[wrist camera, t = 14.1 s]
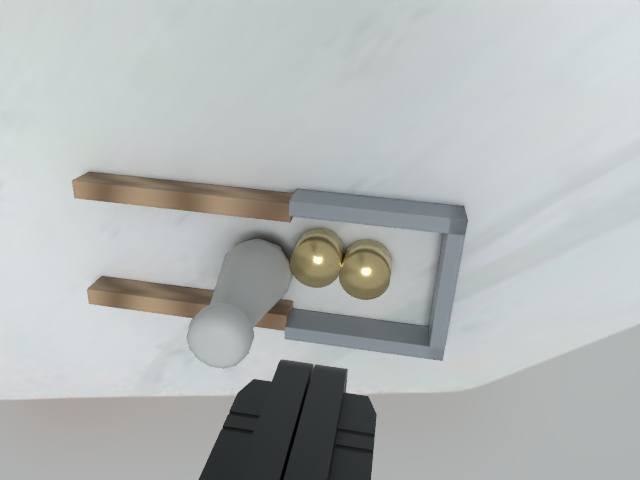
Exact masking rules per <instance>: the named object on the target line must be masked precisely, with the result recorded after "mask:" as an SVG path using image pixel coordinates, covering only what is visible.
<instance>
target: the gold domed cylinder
mask: <svg viewBox="0 0 640 480" xmlns="http://www.w3.org/2000/svg"><path fill="white" fill-rule="evenodd" d="M390 274H391V256H390V253H389V251H388V250H387V249H386V247H385V246H384V245H382V244H381V243H379V242H377V241H374V240H369V239H364V240H359V241H356V242H354V243H353V244H351V245H350V246H349V247H348V248H347V250H346V252H345V254H344V258H343V261H342V265H341V269H340V272H339V279H340V283H341V285H342V287H343V289H344V290H345V291H346V292H347V293H348V294H349V295H351V296H353V297H355V298H358V299H362V300H369V299H374V298H377V297H379V296H380V295H382V294H383V293H384V292H385V291H386V289H387V288H388V286H389V283H390Z"/></svg>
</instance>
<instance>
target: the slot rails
mask: <svg viewBox="0 0 640 480" xmlns="http://www.w3.org/2000/svg"><path fill="white" fill-rule="evenodd" d="M72 184H73V191H74V198H78V199H87V200H96V201H105V202H114V203H123V204H132V205H140V206H149V207H158V208H167V209H176V210H185V211H194V212H203V213H212V214H221V215H230V216H239V217H248V218H256V219H265V220H274V221H283V222H291V220H292V218H293V216H289V201H290V200H291V198H292V196H293V195H294V193H284V192H275V191H265V190H256V189H246V188H237V187H227V186H218V185H208V184H199V183H189V182H180V181H171V180H161V179H152V178H142V177H133V176H123V175H114V174H104V173H95V172H88V173H86V174H84V175H82V176H80V177H78V178H76V179H74V180H72ZM87 293H88V300H89V304H94V305H101V306H109V307H116V308H123V309H131V310H138V311H145V312H152V313H160V314H167V315H174V316H182V317H189V318H194V317H195V315H196V314H198V313H199V312H200V311H201V310H202V309H203V308H204V307H206V306H208V305H210V303H211V300H212V296H213V293H214V291H212V290H204V289H196V288H189V287H181V286H173V285H166V284H158V283H150V282H142V281H135V280H127V279H119V278H112V277H104V276H102V277H100V278H99V279H98V280H97V281H96V282H95V283H93V284H92V285H91V286H90V287H89V288H88V289H87ZM292 309H293V301H289V300H281V299H280V300H279V301H278V302H277V303H276V304H275V305H274V306H273V307H272V308H271V309H270V310H269V311H268V312H267V313H266V314H265V315H264V316H263V318H262V319H261V320H260V321H259V322H258V323H257V324H256V325H255V327H262V328H269V329H277V330H284V331H285V326H286V324H287V321H288V319H289V316H290V314H291V311H292Z"/></svg>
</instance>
